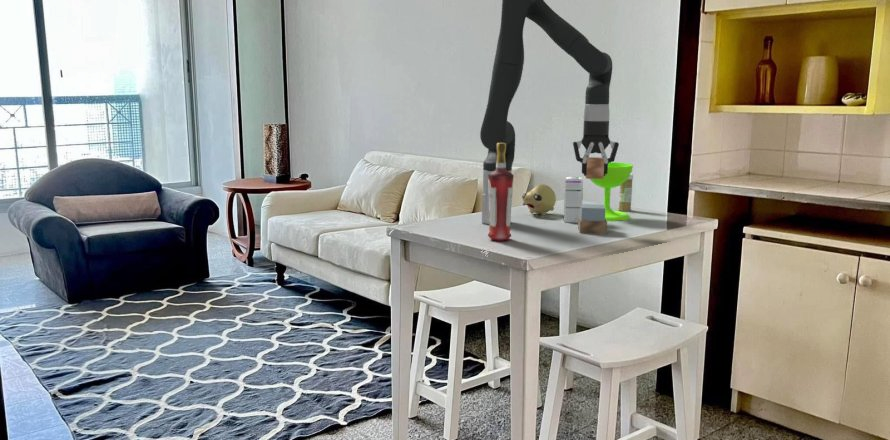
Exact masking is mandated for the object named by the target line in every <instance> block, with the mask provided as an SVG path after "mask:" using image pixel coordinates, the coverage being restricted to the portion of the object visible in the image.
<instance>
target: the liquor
mask: <svg viewBox="0 0 890 440" xmlns="http://www.w3.org/2000/svg"><path fill="white" fill-rule="evenodd" d="M505 151H506V143H497V162H496V170H495V171H493V172H491V173H490V174H489V175H488V195H489V224H488V226H489V228H488V229H489V232H488V234H487V236H488V237H489V238H490V239H491V241H493V240H494V241H493V242H506V241H508V240H509V239H510V238H511V237H512V234H511V222H510V220H512V219H511V218H512V216H511V215H512V203H513V189H514V176H515V175H514V174H513V172H512V173H510V172H508V171H506V162H505Z"/></svg>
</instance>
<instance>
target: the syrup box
mask: <svg viewBox="0 0 890 440" xmlns="http://www.w3.org/2000/svg"><path fill="white" fill-rule="evenodd" d="M583 179H584V178H583V177H582V176H567V177H566V176H565V179H564V203H563V204H564V205H563V206H564V207H563V209H564V210H563V213H564V215H563V221H564V223H569V224H570V223H575V224H578V218H579V216H580V213H581V204H583V198H584V197H583V195H584V194H583V190H584V189H583V186H584V185H583V183H584V181H583Z"/></svg>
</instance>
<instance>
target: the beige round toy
mask: <svg viewBox="0 0 890 440" xmlns="http://www.w3.org/2000/svg"><path fill="white" fill-rule="evenodd" d="M521 198H522V201H523V203H524V204H525V205H526V206H527V208H528V209H529V213H530V214H534V213H535V214H539V215H541V216H543V217H544V216H546V214H547V213H548V212H550V211H554V210H555V207H554V206H555V205H556V202H557V196H556V193H555V191H554V190H553V188H552V187H551V186H550V185H548V184H545V183H540V184H538V185H536V186H535V187H533V188H532V189H531V190H530V191H527V192H525V193H523V194H522V197H521Z"/></svg>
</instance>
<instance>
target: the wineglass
mask: <svg viewBox="0 0 890 440" xmlns="http://www.w3.org/2000/svg"><path fill="white" fill-rule="evenodd" d="M633 166H634V165H633V164H632V163H631V164H630V163H625V162H614V161H613V162H610V163H608V172H607V174H605V176H604V178H603V179H589V180H590V181H591V182H592V183H593V184H594V185H596V186H598V187H600V188H603V189H604V196H603V197H604V198H603V205H604V207H605V219H606V221H607V222H620V221H619V220H623V221H628V220H630V219H631V216H630V215H629V214H628V213H627V212H625V211H620V210H612V208H611V205H610V203H611V189H613V188H616V187H620V185H621V184H623V183H624V182H625V181H626V180H627V179H628V178H629V176H630V174H632V172H633V169H634V168H633Z"/></svg>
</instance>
